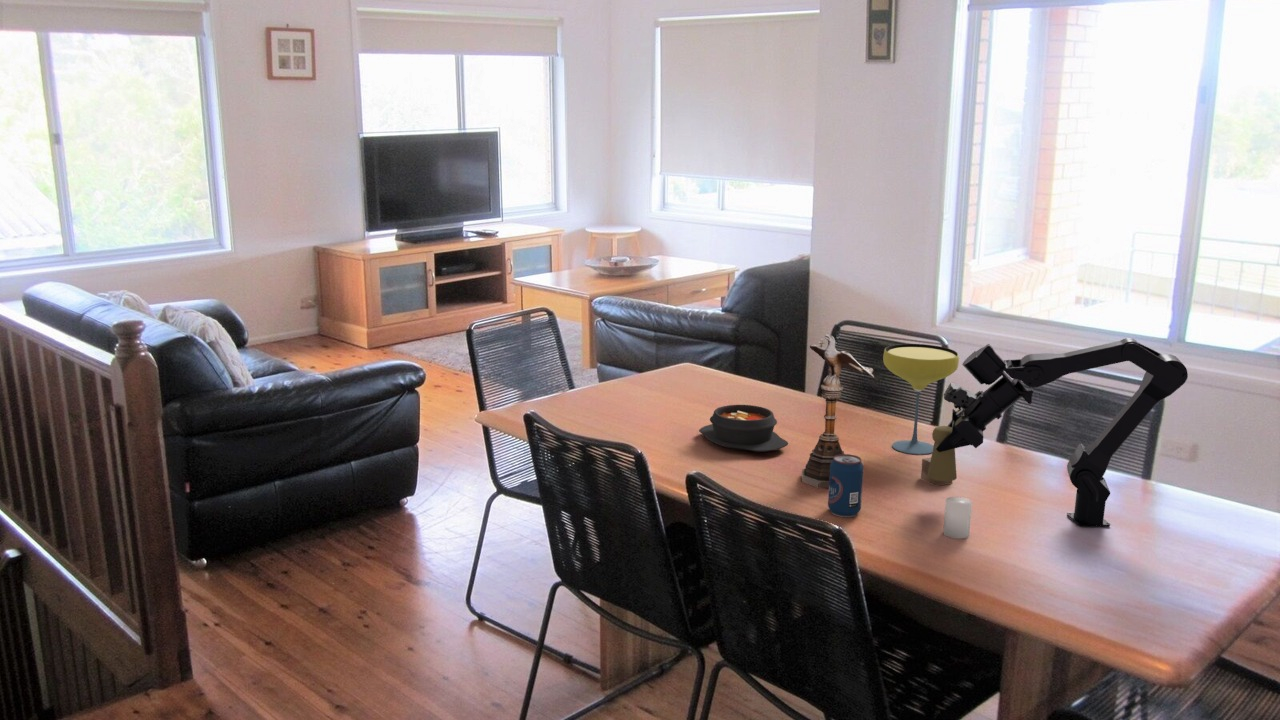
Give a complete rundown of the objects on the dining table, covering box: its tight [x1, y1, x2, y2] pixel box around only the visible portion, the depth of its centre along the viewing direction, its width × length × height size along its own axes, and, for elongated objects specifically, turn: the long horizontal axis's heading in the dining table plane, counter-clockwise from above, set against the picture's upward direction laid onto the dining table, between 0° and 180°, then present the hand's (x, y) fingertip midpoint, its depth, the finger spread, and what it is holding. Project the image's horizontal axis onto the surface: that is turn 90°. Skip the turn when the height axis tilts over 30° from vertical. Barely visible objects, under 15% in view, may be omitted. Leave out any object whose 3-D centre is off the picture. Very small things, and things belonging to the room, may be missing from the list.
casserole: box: [698, 404, 789, 453], centre depth 268 cm, size 25×19×8 cm
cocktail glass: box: [882, 343, 960, 456], centre depth 264 cm, size 18×18×25 cm
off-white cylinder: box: [942, 496, 973, 540], centre depth 212 cm, size 5×5×7 cm
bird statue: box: [801, 333, 875, 489], centre depth 241 cm, size 17×13×35 cm
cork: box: [928, 425, 957, 482], centre depth 225 cm, size 6×6×11 cm
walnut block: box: [920, 457, 953, 486], centre depth 243 cm, size 5×5×5 cm
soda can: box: [827, 453, 865, 518], centre depth 222 cm, size 7×7×12 cm
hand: (937, 446), depth 226 cm, fingers closed on cork, 5 cm apart
